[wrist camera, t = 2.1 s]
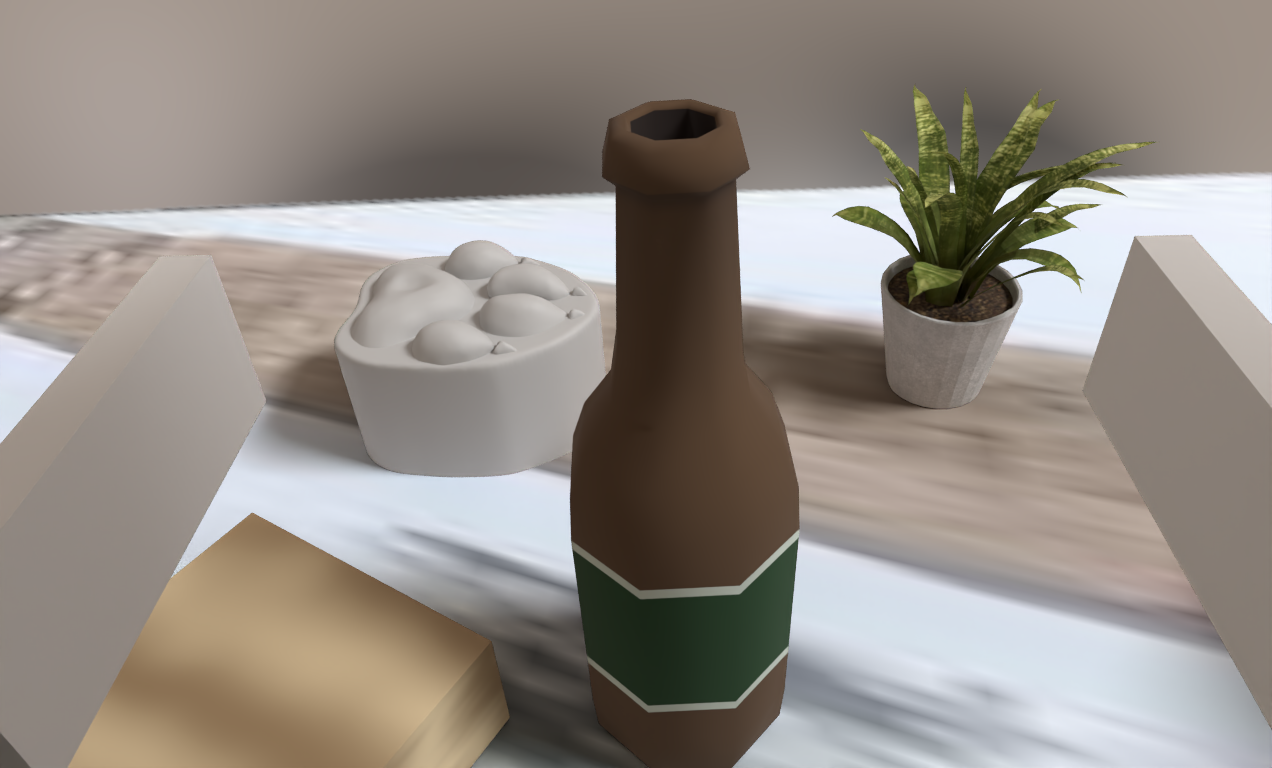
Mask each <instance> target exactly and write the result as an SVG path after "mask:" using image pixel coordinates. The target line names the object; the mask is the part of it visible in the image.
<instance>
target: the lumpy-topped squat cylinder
mask: <svg viewBox="0 0 1272 768" xmlns="http://www.w3.org/2000/svg"><path fill="white" fill-rule="evenodd" d="M334 348H335V352H336V355H337V358H338V361H339V364H340V368H341V371H342V374H343V377H344V381H345V384H346V387H347V390H348V393H349V396H350V399H351V402H352V406H353V409H354V412H355V415H356V418H357V422H358V425H359V428H360V431H361V434H362V437H363V441H364V444H365V447H366V450H367V453H368V455H369V457H370V458H371V459H372V460H373V461H374V462H375V463H376V464H377V465H379V466H381V467H383V468H385V469H387V470H390V471H393V472H397V473H403V474H411V475H424V476H437V477H488V476H501V475H509V474H514V473H518V472H522V471H525V470H528V469H531V468H534V467H537V466H539V465H542V464H545V463H547V462H550V461H552V460H555V459H557V458H559V457H562V456H564V455H566V454H568V453H570V452H572V443H573V434H574V431H575V428H576V425H577V422H578V419H579V416H580V413H581V410H582V407H583V405H584V402H585V401H586V400H587V398H588V397H589V396H590V395H591V393H592V392H593V391H594V390H595V389H596V387H597V386H598V385H599V384H600V382H601V381H602V380H603V379H604V377H605V376H606V372H605V360H604V350H603V339H602V328H601V317H600V306H599V302H598V299H597V297H596V294H595V293H594V291H593V290H592V289H591V288H590V287H589V286H588V285H587V284H586V283H585V282H584V281H582V280H581V279H580V278H579V277H577V276H576V275H574V274H573V273H571V272H569V271H567V270H565V269H562V268H560V267H557V266H554V265H551V264H548V263H545V262H542V261H538V260H535V259H531V258H527V257H519V256H513V255H512V254H511V253H510V252H509V251H508V250H506V249H504V248H503V247H501V246H499V245H497V244H495V243H493V242H489V241H482V240H479V241H471V242H468V243H465V244H462V245H460V246H459V247H457V248H456V249H455V250H454V251H453V252H452V254H451V255H450V256H435V257H422V258H414V259H407V260H403V261H399V262H396V263H394V264H391V265H389V266H386V267H384V268H382V269H380V270H379V271H377V272H375V273H374V274H372V275H371V276H370V277H369V278H368V279H367V280H366V281H365V282H364V284H363V286H362V288H361V291H360V295H359V300H358V303H357V306H356V308H355V310H354V311H353V313H352V314H351V315H350V317H349V318H348V319H347V320H346V321H345V322H344V324H343V325H342V326H341V327H340V329H339V330H338V332H337V334H336V336H335V339H334Z"/></svg>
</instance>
